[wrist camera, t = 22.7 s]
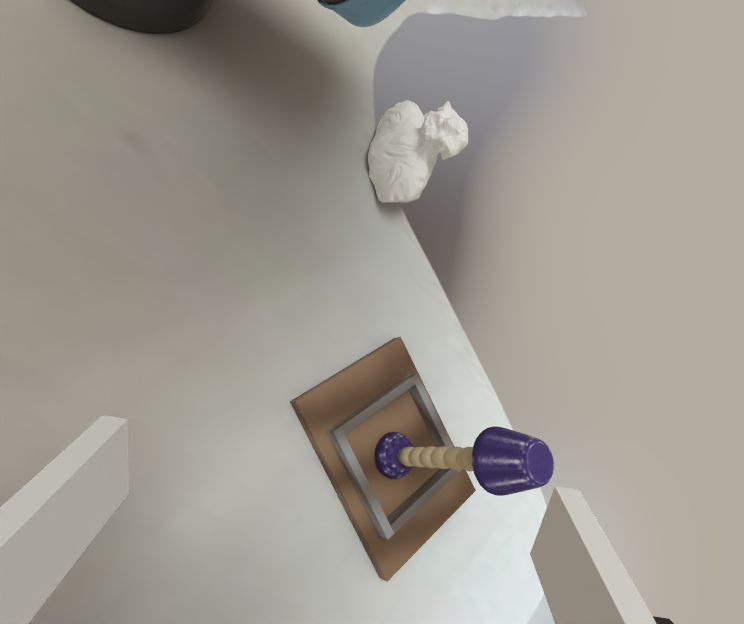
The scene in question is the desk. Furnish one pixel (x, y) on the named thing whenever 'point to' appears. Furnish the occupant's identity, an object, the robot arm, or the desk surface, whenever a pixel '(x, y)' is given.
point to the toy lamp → (474, 459)
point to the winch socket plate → (357, 453)
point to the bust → (412, 149)
